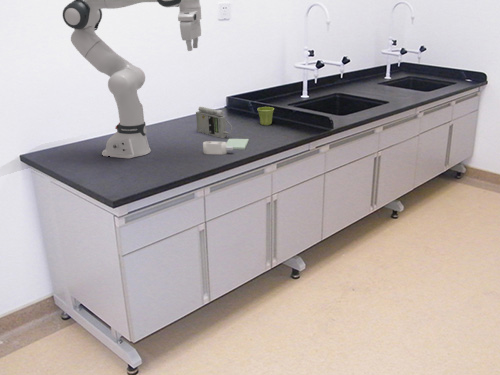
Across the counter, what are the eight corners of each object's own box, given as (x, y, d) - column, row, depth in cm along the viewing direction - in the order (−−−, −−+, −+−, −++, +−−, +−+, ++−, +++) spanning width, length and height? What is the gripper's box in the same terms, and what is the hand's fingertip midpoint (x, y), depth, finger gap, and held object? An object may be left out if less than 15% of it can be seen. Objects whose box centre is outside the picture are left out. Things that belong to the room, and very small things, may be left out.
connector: (202, 154, 230) (202, 143, 228) (204, 151, 234) (203, 141, 232) (232, 154, 228) (231, 144, 226) (233, 152, 232) (233, 141, 230)
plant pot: (259, 126, 272) (259, 111, 269) (255, 122, 280) (255, 107, 277) (276, 125, 274) (276, 110, 271) (271, 121, 282) (271, 106, 279)
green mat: (223, 149, 236) (223, 147, 236) (229, 140, 249) (229, 138, 249) (244, 149, 235) (244, 147, 234) (248, 141, 248) (248, 139, 247)
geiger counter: (193, 106, 260) (226, 113, 244) (202, 104, 264) (235, 110, 248) (195, 132, 265) (228, 140, 249) (204, 129, 269) (236, 137, 254)
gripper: (189, 14, 217) (191, 46, 222) (176, 16, 198) (179, 52, 204) (203, 13, 216) (205, 46, 221) (192, 16, 197) (194, 52, 203)
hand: (192, 49), depth 212 cm, fingers open, 8 cm apart
